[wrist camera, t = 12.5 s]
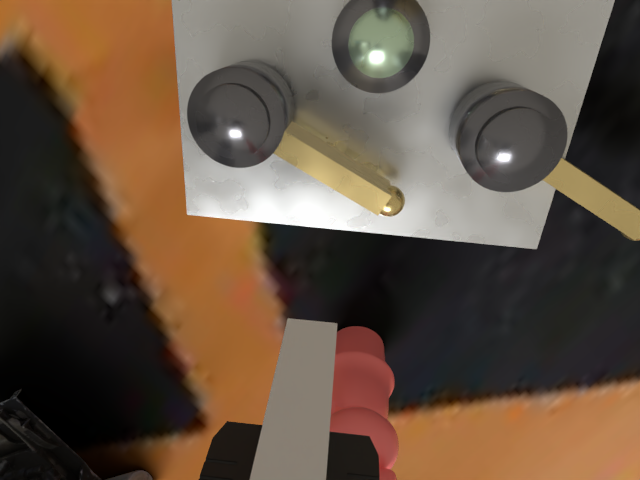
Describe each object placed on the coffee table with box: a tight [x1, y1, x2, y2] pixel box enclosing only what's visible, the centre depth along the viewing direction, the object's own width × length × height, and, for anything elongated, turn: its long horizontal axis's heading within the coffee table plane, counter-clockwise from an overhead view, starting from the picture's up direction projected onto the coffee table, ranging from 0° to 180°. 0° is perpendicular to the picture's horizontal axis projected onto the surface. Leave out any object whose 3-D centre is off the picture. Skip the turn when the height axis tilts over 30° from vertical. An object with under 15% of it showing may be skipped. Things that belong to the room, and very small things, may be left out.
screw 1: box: [187, 61, 405, 217], centre depth 22 cm, size 11×4×4 cm, turn 59°
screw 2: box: [449, 81, 640, 241], centre depth 21 cm, size 11×4×4 cm, turn 59°
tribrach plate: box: [172, 0, 615, 249], centre depth 21 cm, size 20×20×4 cm
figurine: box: [330, 326, 399, 480], centre depth 26 cm, size 5×5×15 cm
